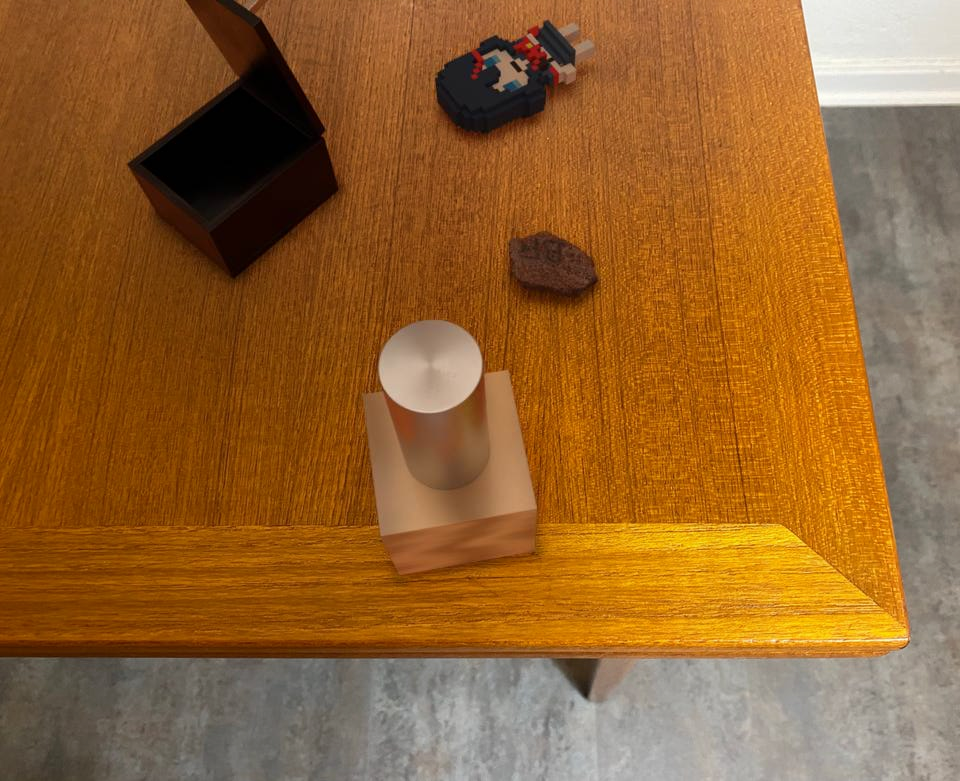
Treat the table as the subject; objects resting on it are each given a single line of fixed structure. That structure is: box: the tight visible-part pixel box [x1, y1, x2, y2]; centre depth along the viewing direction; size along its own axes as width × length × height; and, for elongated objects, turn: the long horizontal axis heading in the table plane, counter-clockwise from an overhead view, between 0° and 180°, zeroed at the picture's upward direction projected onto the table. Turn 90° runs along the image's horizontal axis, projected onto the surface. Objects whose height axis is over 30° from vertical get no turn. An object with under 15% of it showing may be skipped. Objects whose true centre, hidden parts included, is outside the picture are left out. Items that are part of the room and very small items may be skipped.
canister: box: [377, 318, 490, 490], centre depth 52 cm, size 6×6×12 cm
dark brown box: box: [126, 77, 340, 280], centre depth 76 cm, size 13×11×7 cm
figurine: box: [434, 19, 596, 135], centre depth 82 cm, size 9×4×15 cm
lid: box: [185, 0, 327, 137], centre depth 68 cm, size 13×11×5 cm
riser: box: [362, 369, 538, 576], centre depth 62 cm, size 10×10×10 cm
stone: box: [507, 230, 599, 299], centre depth 73 cm, size 7×7×3 cm
